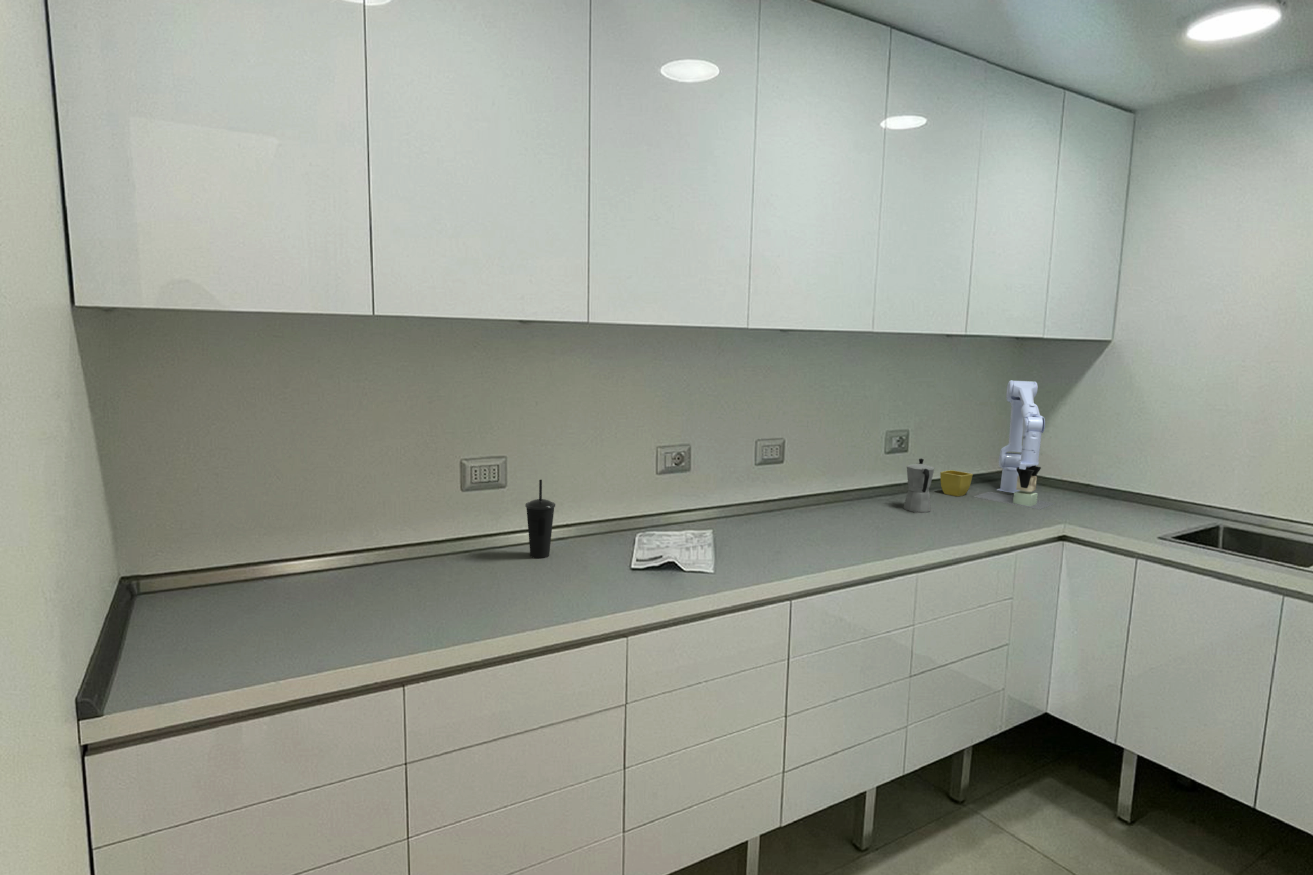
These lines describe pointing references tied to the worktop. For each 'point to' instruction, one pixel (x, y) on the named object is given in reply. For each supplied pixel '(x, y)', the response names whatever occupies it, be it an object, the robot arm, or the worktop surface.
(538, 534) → the drinking cup
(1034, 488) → the birch block
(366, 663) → the worktop surface
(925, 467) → the coffeepot
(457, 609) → the worktop surface
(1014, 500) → the sage brick
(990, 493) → the play mat
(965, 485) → the flower pot
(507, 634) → the worktop surface
